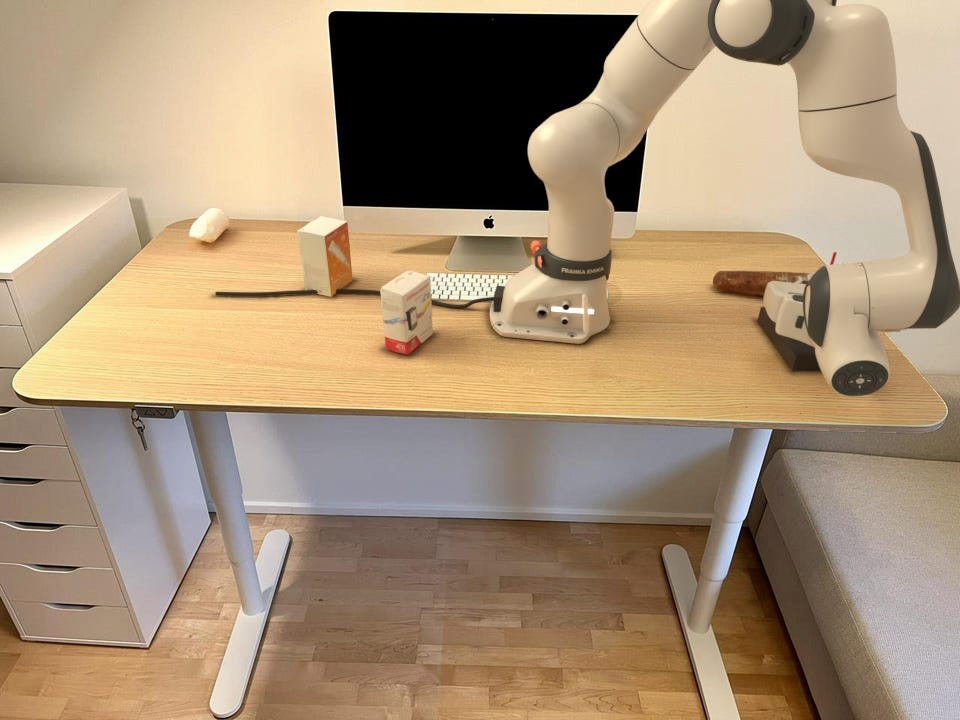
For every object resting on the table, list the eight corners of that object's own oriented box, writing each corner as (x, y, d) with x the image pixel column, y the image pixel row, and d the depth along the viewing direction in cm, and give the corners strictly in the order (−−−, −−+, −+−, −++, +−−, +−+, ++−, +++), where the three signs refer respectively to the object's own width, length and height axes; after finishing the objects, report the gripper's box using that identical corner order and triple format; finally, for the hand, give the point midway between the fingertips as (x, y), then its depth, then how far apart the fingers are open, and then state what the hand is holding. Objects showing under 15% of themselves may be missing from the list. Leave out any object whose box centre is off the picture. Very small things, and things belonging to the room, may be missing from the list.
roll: (185, 251, 155) (179, 227, 152) (206, 229, 165) (201, 206, 162) (212, 252, 155) (207, 228, 152) (232, 230, 165) (227, 207, 162)
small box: (332, 298, 139) (324, 236, 131) (304, 291, 141) (295, 230, 134) (354, 280, 145) (348, 220, 138) (327, 274, 147) (320, 215, 140)
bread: (812, 307, 138) (820, 282, 134) (711, 294, 142) (716, 268, 139) (809, 292, 143) (817, 267, 139) (711, 279, 147) (716, 255, 144)
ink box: (407, 357, 122) (403, 296, 115) (383, 349, 124) (378, 289, 117) (434, 334, 128) (432, 275, 121) (411, 326, 130) (408, 268, 124)
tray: (792, 371, 120) (796, 356, 118) (756, 320, 133) (760, 306, 132) (859, 370, 120) (865, 355, 118) (817, 320, 134) (822, 306, 132)
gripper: (919, 313, 106) (896, 272, 117) (775, 297, 109) (766, 259, 121) (905, 349, 109) (883, 306, 120) (765, 332, 113) (757, 292, 124)
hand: (823, 282), depth 121 cm, fingers closed on beverage cup, 6 cm apart
